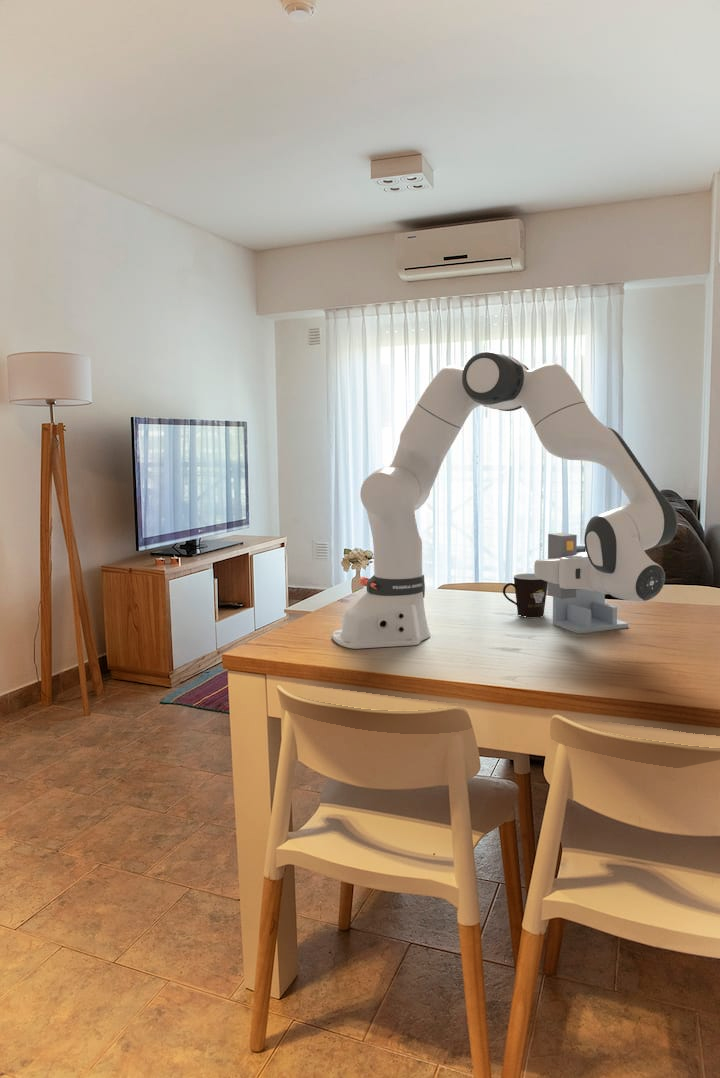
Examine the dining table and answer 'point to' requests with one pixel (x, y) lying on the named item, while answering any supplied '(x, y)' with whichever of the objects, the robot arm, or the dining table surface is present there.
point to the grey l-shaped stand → (586, 613)
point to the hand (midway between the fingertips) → (559, 561)
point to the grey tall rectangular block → (560, 548)
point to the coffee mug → (529, 594)
